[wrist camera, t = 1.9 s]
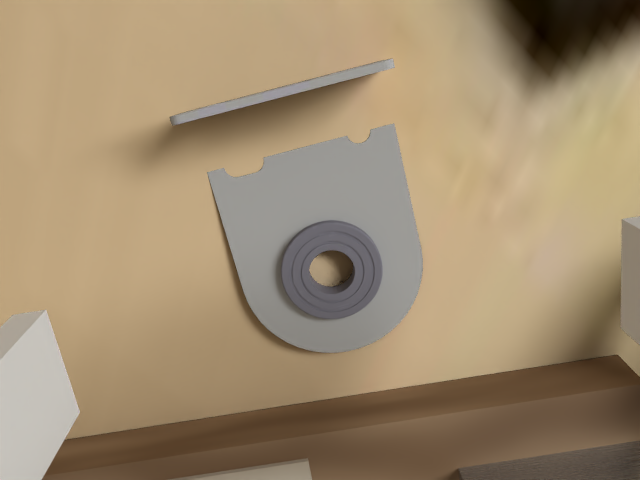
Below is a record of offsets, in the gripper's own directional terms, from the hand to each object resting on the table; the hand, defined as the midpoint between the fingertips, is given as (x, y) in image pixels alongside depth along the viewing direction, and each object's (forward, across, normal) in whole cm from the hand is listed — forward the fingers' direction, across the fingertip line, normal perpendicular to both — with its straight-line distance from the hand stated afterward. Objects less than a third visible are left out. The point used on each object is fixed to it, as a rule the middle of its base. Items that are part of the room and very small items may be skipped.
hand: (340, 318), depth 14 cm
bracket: (+8, 0, +1) cm, 9 cm away
